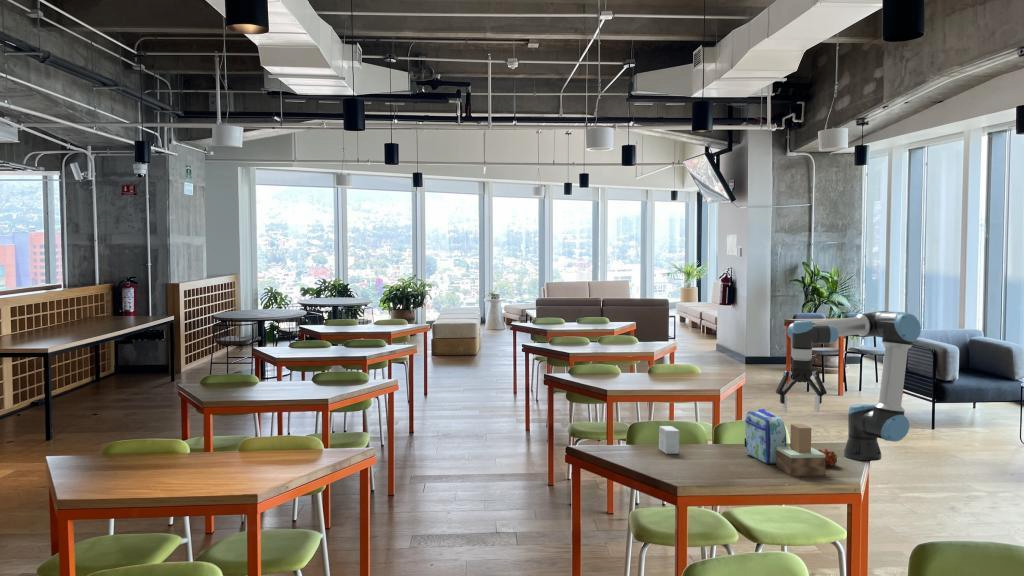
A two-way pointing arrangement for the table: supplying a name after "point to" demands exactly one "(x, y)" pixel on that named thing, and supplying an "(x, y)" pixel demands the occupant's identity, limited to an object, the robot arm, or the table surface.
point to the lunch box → (764, 435)
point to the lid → (800, 443)
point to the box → (800, 465)
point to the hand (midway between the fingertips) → (800, 411)
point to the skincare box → (668, 439)
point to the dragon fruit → (829, 458)
